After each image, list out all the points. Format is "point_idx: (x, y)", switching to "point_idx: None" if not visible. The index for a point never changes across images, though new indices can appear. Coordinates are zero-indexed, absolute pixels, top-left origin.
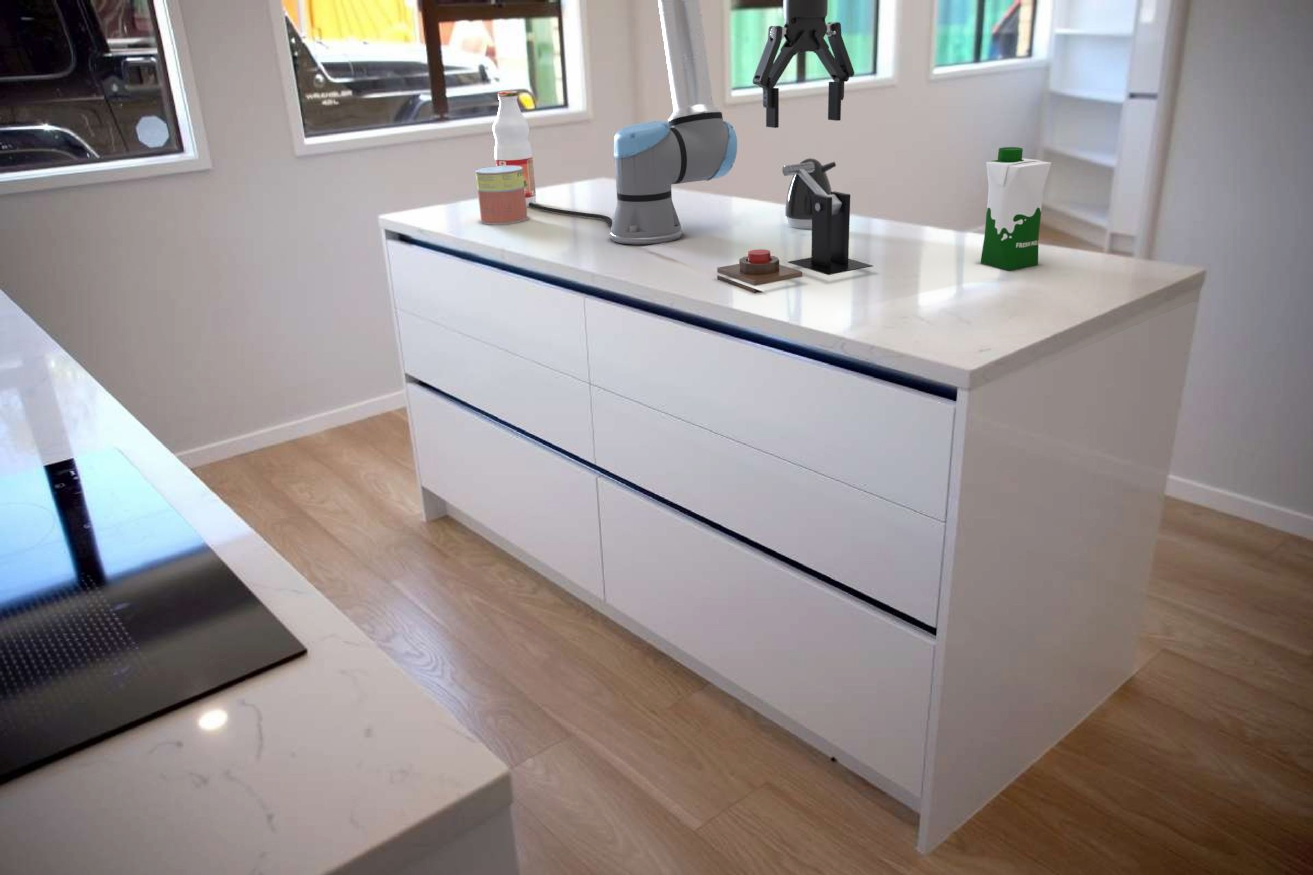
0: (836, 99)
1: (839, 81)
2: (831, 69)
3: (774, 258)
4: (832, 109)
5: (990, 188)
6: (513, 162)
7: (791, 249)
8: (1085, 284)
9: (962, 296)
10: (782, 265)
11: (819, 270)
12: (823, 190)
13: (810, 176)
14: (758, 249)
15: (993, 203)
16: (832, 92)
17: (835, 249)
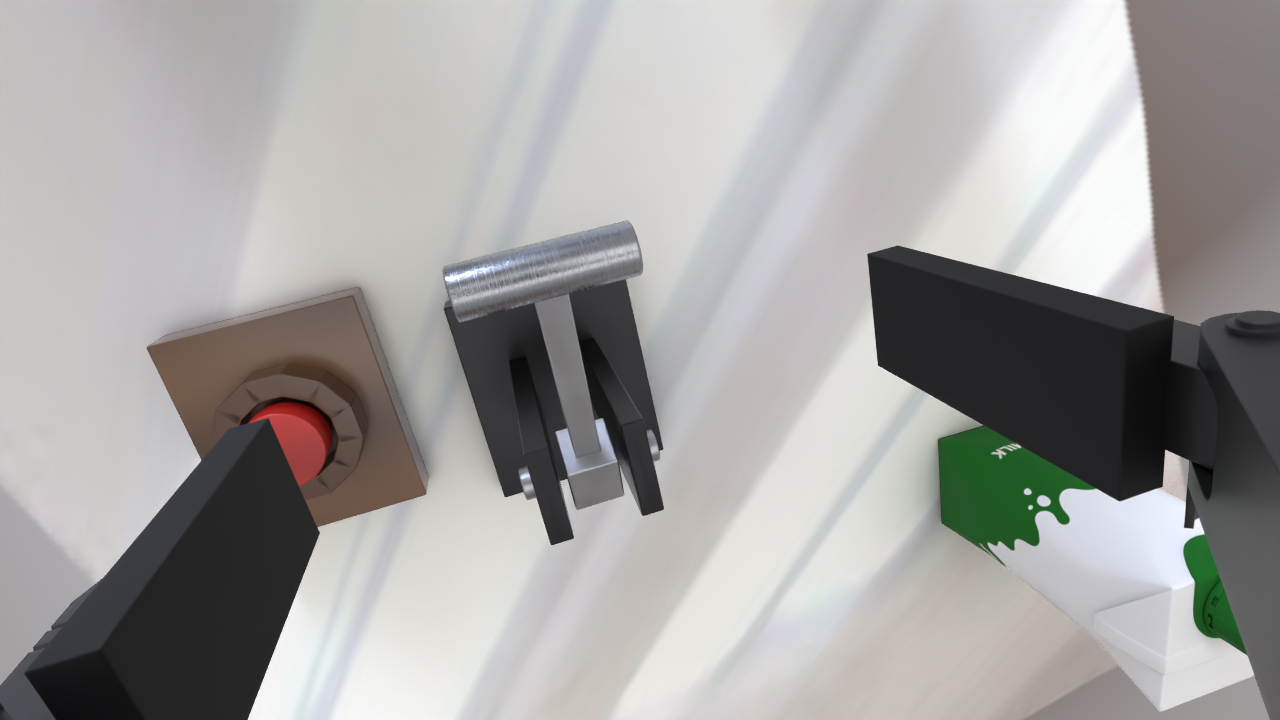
0: (984, 408)
1: (1176, 450)
2: (1240, 542)
3: (346, 446)
4: (922, 327)
5: (1088, 574)
6: None
7: (567, 10)
8: (979, 652)
9: (731, 672)
10: (390, 404)
11: (498, 450)
12: (592, 421)
13: (576, 346)
14: (288, 417)
15: (1049, 567)
16: (1030, 369)
17: (591, 384)
